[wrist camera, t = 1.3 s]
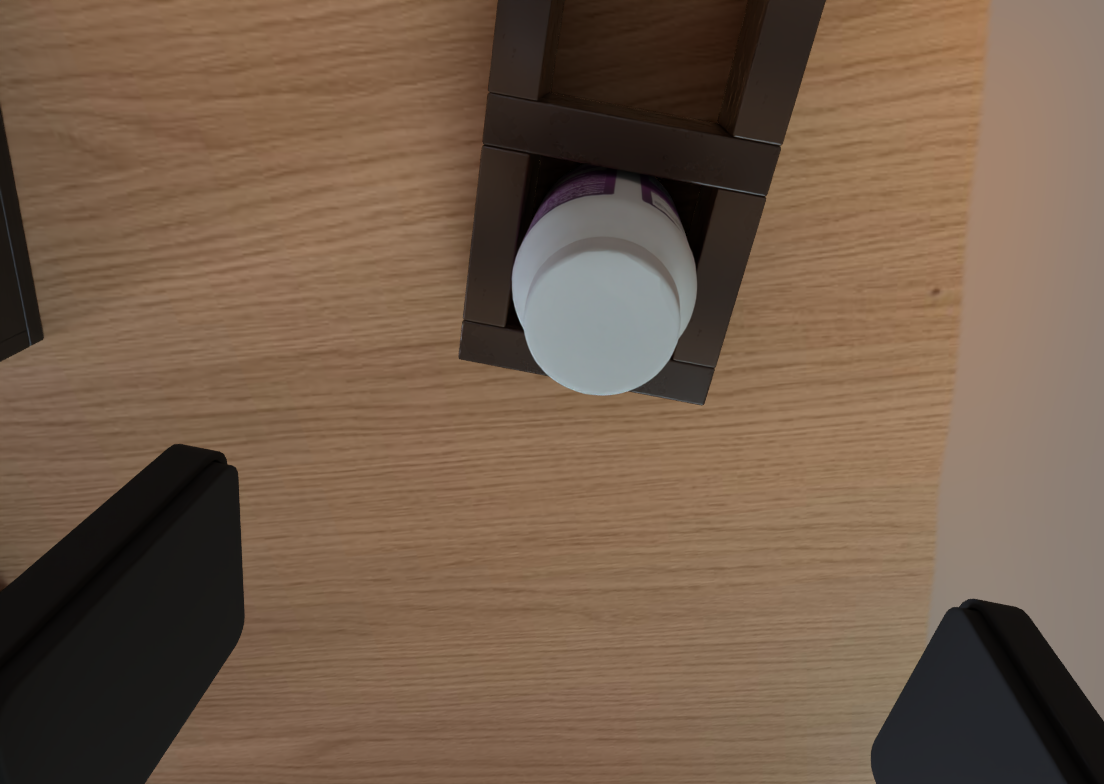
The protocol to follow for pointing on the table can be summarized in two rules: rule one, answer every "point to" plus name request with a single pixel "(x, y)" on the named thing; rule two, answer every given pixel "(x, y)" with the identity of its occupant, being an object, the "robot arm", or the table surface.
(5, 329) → the open box
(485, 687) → the table surface
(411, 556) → the table surface
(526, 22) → the rack
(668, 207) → the pill bottle
